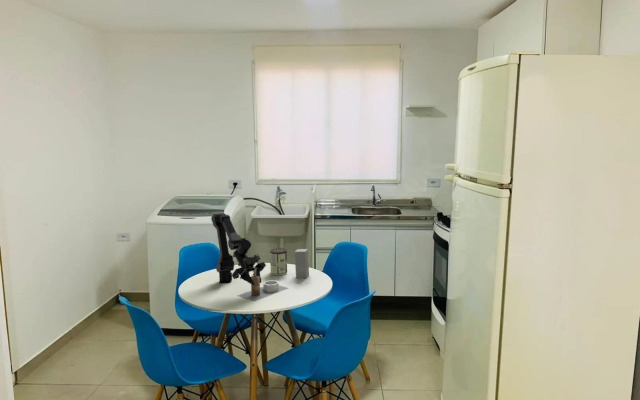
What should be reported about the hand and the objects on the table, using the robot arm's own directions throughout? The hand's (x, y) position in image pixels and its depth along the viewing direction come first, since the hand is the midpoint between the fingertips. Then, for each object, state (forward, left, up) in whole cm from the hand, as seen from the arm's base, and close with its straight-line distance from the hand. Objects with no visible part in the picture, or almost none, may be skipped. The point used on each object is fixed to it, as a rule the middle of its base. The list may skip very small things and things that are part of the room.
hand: (257, 283), depth 224 cm
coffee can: (+10, +42, -7) cm, 44 cm away
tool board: (+3, +5, -7) cm, 9 cm away
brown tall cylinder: (-1, +1, -6) cm, 6 cm away
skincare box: (+24, +34, -7) cm, 42 cm away
